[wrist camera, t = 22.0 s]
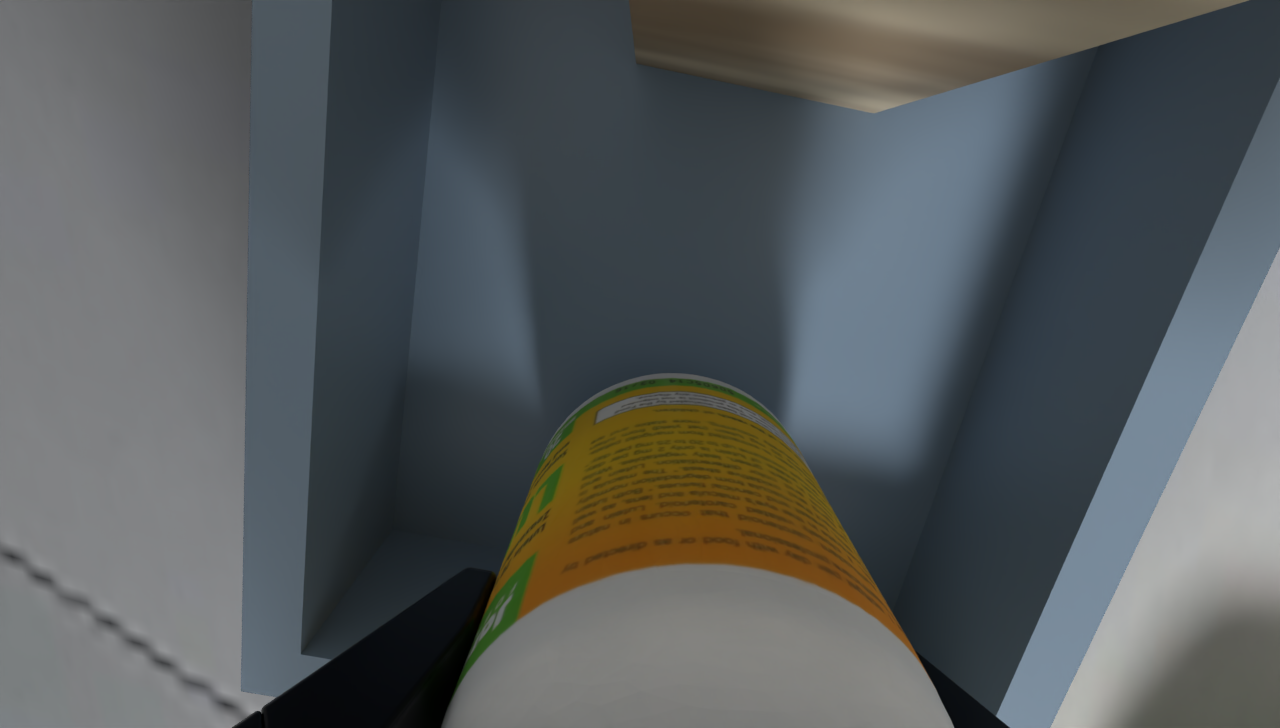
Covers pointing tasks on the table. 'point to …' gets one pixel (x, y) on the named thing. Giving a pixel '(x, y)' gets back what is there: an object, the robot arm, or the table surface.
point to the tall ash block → (882, 41)
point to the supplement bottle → (685, 583)
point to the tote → (737, 304)
